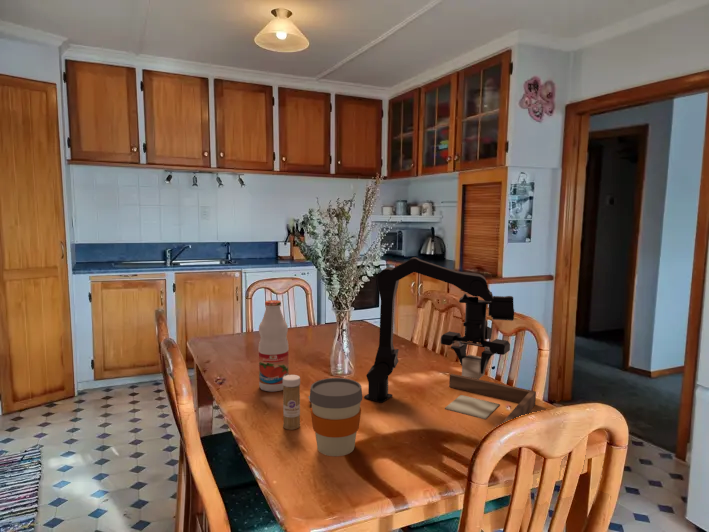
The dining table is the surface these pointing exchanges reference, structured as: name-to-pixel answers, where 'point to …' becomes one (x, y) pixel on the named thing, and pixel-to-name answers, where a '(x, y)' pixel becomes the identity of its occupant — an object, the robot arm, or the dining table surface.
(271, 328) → the fruit juice
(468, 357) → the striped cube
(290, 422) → the sprinkles bottle
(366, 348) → the dining table surface
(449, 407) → the corner arena
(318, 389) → the reusable coffee cup
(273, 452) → the dining table surface
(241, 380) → the dining table surface
